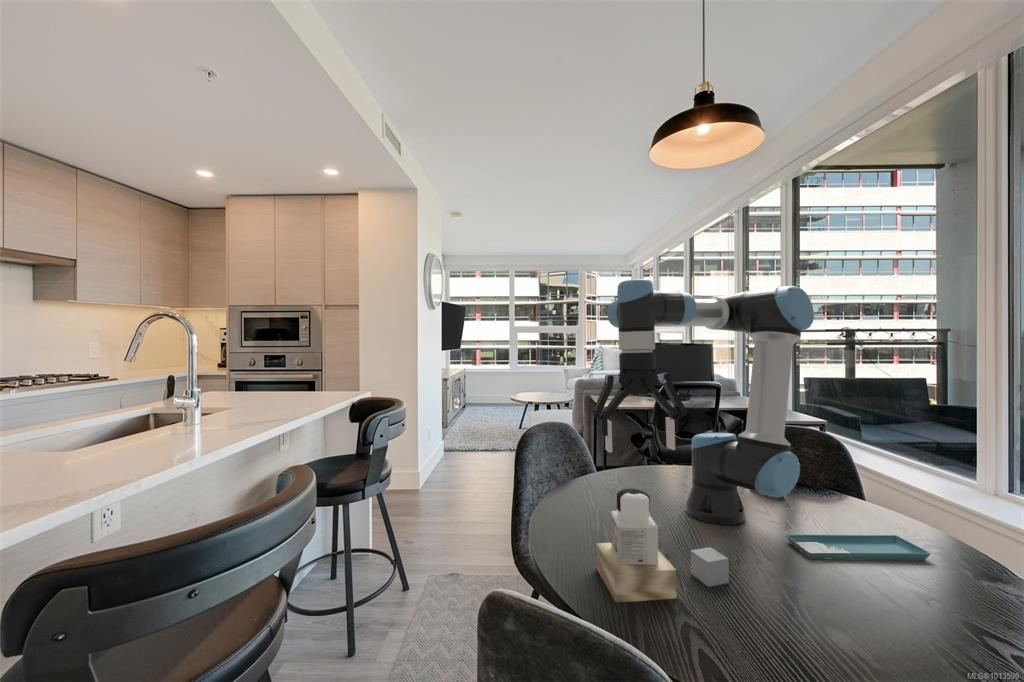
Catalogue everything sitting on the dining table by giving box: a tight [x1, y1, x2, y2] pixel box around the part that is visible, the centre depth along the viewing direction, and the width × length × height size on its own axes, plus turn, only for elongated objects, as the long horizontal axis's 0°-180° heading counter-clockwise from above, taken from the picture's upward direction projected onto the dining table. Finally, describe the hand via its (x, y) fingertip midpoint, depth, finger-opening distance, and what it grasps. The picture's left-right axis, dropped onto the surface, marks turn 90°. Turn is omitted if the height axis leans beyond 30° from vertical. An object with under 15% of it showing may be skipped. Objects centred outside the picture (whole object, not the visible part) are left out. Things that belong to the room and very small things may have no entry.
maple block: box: [595, 542, 678, 603], centre depth 84 cm, size 12×12×6 cm
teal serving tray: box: [785, 534, 932, 562], centre depth 96 cm, size 26×9×2 cm, turn 86°
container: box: [610, 488, 659, 565], centre depth 84 cm, size 8×8×13 cm
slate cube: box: [690, 546, 730, 588], centre depth 85 cm, size 5×5×5 cm
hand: (640, 449), depth 88 cm, fingers open, 13 cm apart
